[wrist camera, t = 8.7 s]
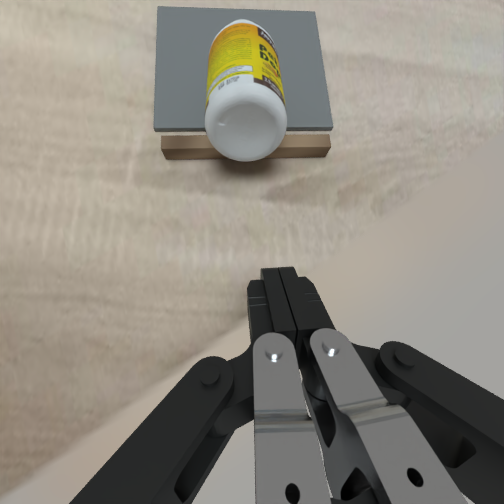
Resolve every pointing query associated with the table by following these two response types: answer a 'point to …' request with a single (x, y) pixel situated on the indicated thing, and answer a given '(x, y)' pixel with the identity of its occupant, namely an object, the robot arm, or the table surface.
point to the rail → (205, 150)
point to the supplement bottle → (244, 93)
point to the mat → (196, 65)
